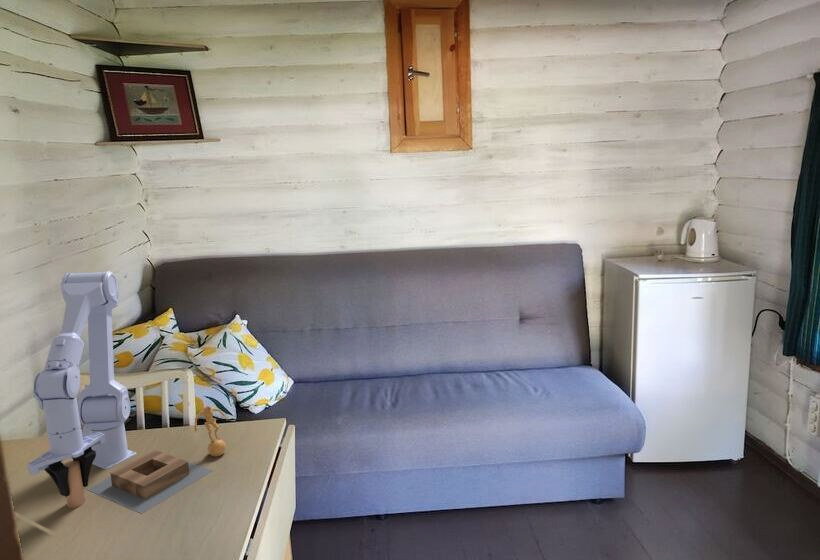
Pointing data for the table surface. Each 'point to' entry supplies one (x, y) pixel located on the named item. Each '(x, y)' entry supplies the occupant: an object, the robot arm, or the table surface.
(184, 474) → the square frame
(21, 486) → the table surface
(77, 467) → the dowel
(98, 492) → the mat
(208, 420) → the figurine
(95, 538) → the table surface
